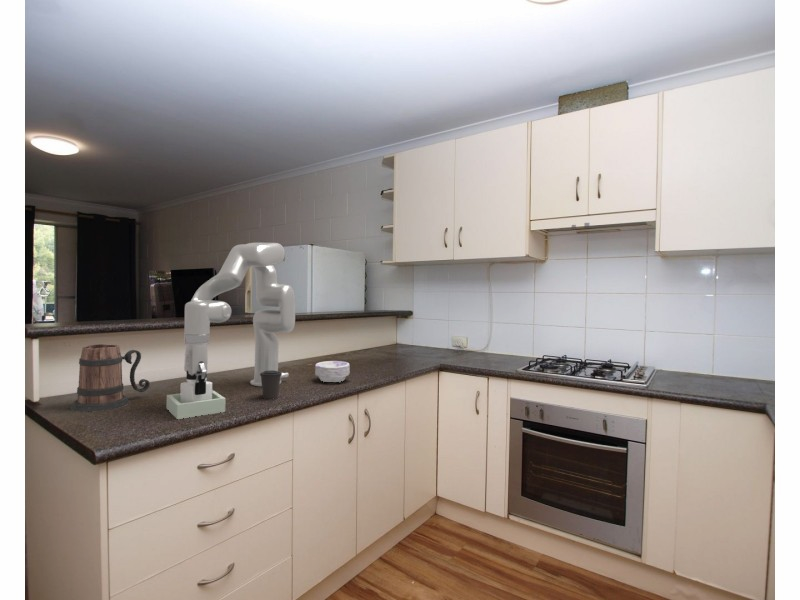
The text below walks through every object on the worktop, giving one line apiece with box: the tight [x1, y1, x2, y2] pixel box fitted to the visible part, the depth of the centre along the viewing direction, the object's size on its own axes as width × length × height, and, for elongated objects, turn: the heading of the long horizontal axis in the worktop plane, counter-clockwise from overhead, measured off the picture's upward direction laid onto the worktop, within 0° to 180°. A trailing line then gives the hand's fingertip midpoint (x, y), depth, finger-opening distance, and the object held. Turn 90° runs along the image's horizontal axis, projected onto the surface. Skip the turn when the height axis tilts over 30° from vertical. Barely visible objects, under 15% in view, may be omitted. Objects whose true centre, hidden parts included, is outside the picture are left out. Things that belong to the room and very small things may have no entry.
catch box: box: [166, 389, 227, 420], centre depth 142 cm, size 14×14×4 cm
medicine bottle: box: [179, 371, 213, 404], centre depth 142 cm, size 7×7×12 cm
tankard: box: [69, 343, 150, 413], centre depth 147 cm, size 24×17×20 cm
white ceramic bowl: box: [314, 360, 351, 383], centre depth 191 cm, size 15×15×8 cm
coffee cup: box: [260, 370, 283, 400], centre depth 160 cm, size 8×8×10 cm
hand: (196, 391), depth 142 cm, fingers closed on medicine bottle, 8 cm apart
